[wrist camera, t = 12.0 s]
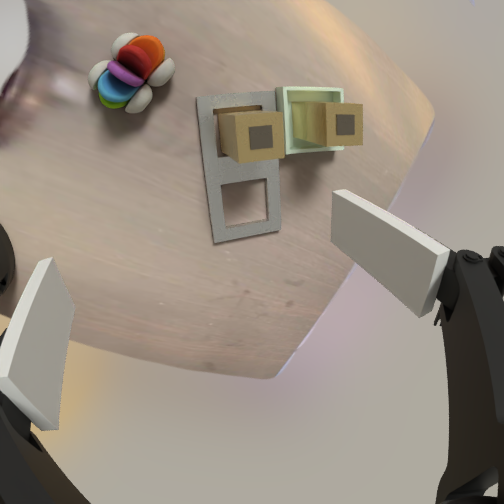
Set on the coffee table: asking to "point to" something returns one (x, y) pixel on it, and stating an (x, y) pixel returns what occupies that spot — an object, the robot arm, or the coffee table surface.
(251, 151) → the tan textured tower
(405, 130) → the coffee table surface
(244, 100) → the grey frame plate
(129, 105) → the colorful toy
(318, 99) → the tray
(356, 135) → the brass block
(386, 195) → the coffee table surface
